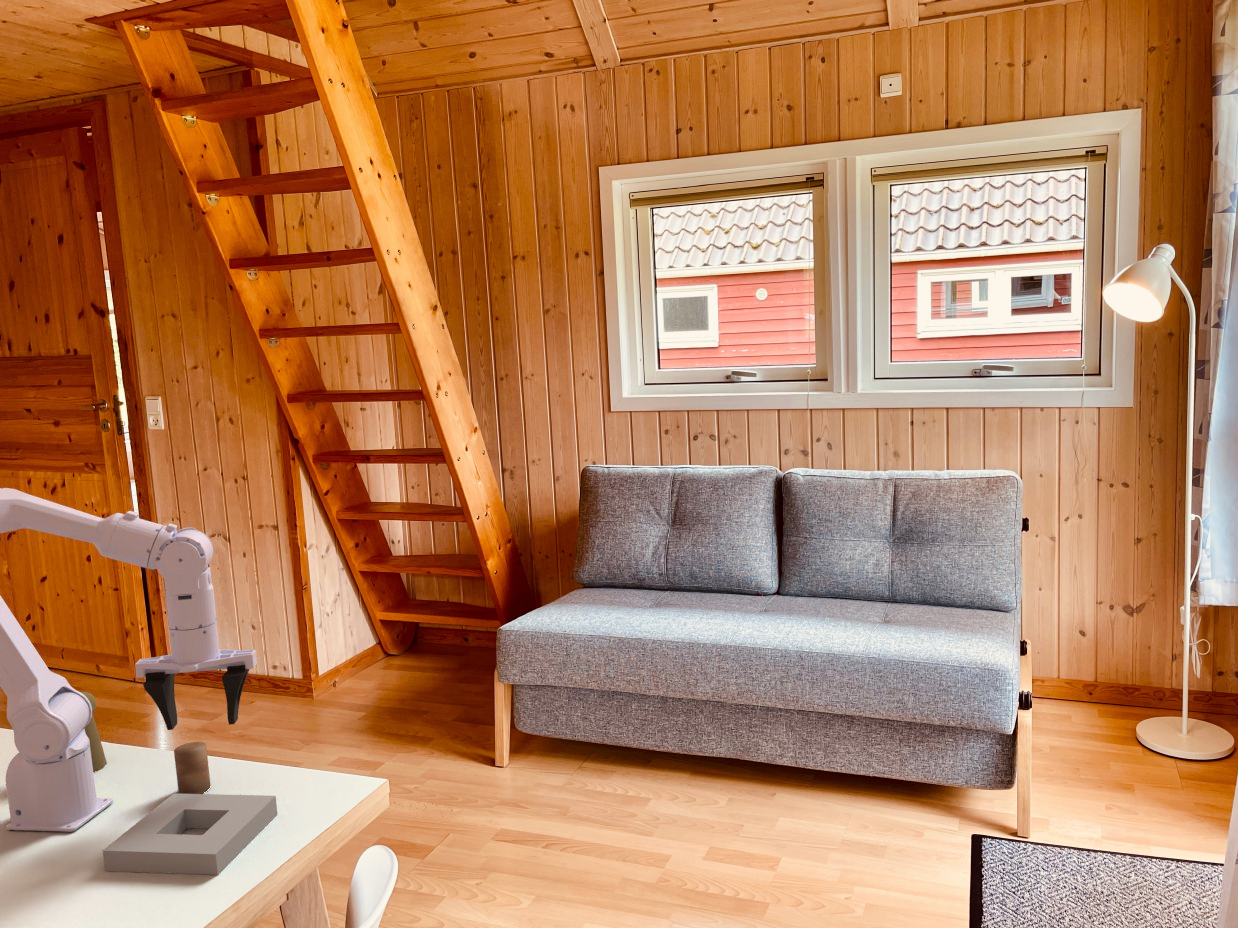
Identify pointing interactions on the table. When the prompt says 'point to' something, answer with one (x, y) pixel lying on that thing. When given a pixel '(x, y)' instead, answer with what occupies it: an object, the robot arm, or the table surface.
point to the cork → (94, 738)
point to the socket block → (169, 852)
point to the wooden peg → (192, 768)
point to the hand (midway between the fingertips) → (203, 724)
